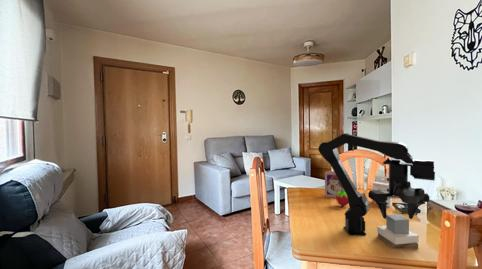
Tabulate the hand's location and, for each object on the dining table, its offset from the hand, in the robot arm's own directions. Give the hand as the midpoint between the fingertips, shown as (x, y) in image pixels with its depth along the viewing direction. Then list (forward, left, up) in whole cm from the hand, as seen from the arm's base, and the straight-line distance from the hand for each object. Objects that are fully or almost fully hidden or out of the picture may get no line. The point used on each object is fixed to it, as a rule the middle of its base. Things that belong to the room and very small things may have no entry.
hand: (397, 218), depth 85 cm
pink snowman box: (-4, +54, -9) cm, 55 cm away
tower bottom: (0, 0, -10) cm, 10 cm away
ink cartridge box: (+16, +40, -9) cm, 44 cm away
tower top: (0, 0, -7) cm, 7 cm away
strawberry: (-6, +36, -9) cm, 38 cm away
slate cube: (0, 0, -4) cm, 5 cm away
